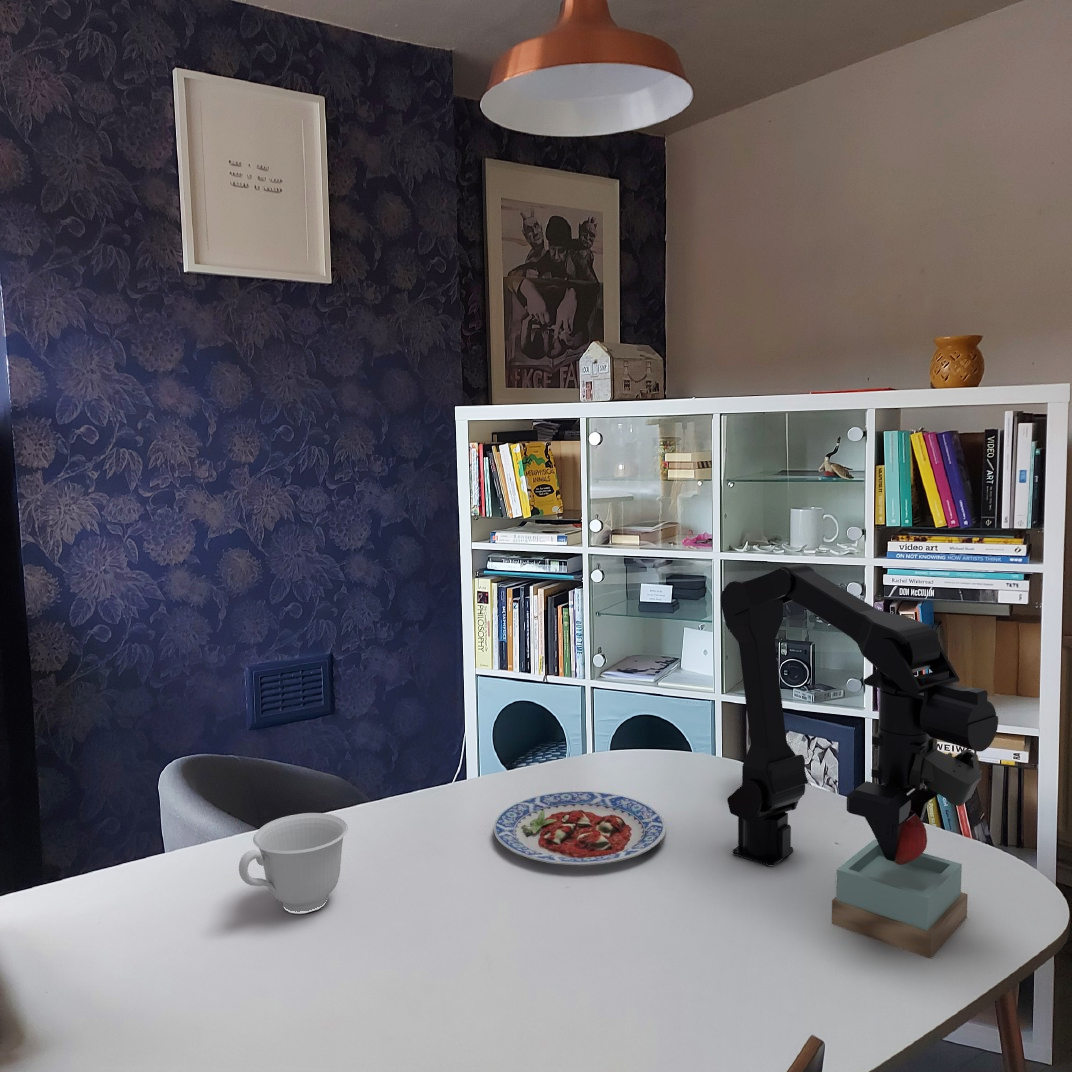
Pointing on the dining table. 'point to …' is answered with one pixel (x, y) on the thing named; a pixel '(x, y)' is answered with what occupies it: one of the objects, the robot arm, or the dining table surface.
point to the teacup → (298, 858)
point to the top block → (899, 886)
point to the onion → (911, 840)
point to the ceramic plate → (579, 828)
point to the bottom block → (901, 927)
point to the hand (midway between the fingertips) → (900, 851)
